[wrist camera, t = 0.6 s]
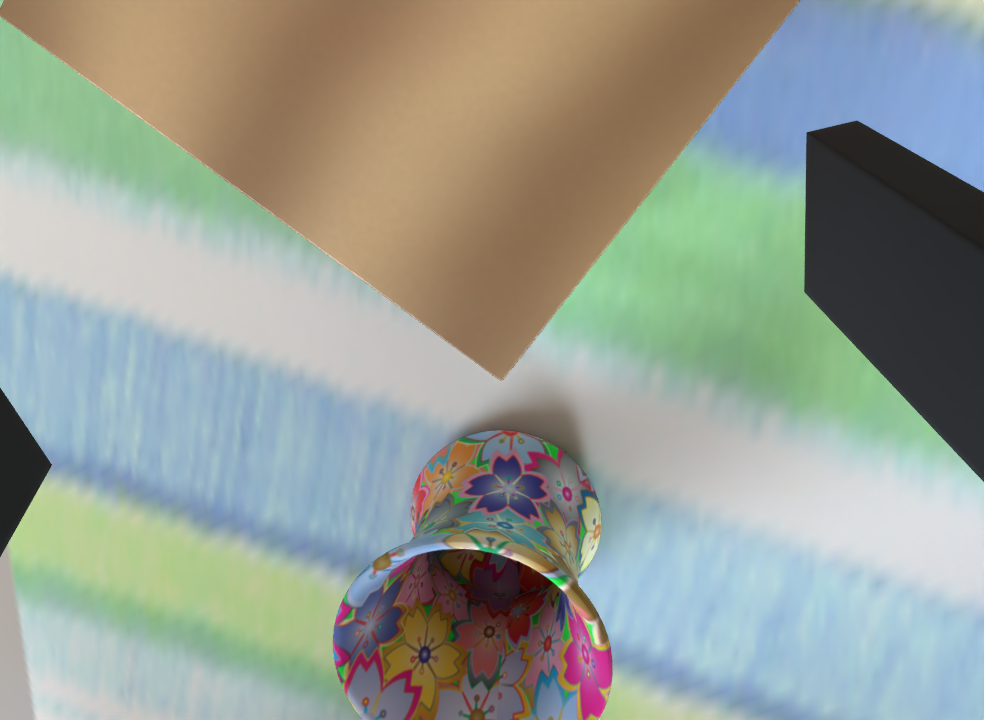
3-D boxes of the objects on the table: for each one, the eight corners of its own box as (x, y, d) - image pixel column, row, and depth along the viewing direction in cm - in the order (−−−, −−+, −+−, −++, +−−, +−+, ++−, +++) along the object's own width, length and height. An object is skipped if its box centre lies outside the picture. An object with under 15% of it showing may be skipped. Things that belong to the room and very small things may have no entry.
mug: (385, 428, 36) (299, 555, 26) (592, 399, 34) (586, 523, 24) (443, 653, 39) (387, 844, 29) (634, 637, 37) (644, 834, 27)
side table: (734, 28, 29) (817, -21, 18) (537, 286, 33) (501, 382, 21) (374, -256, 28) (215, -504, 16) (214, 47, 32) (-4, 14, 20)
